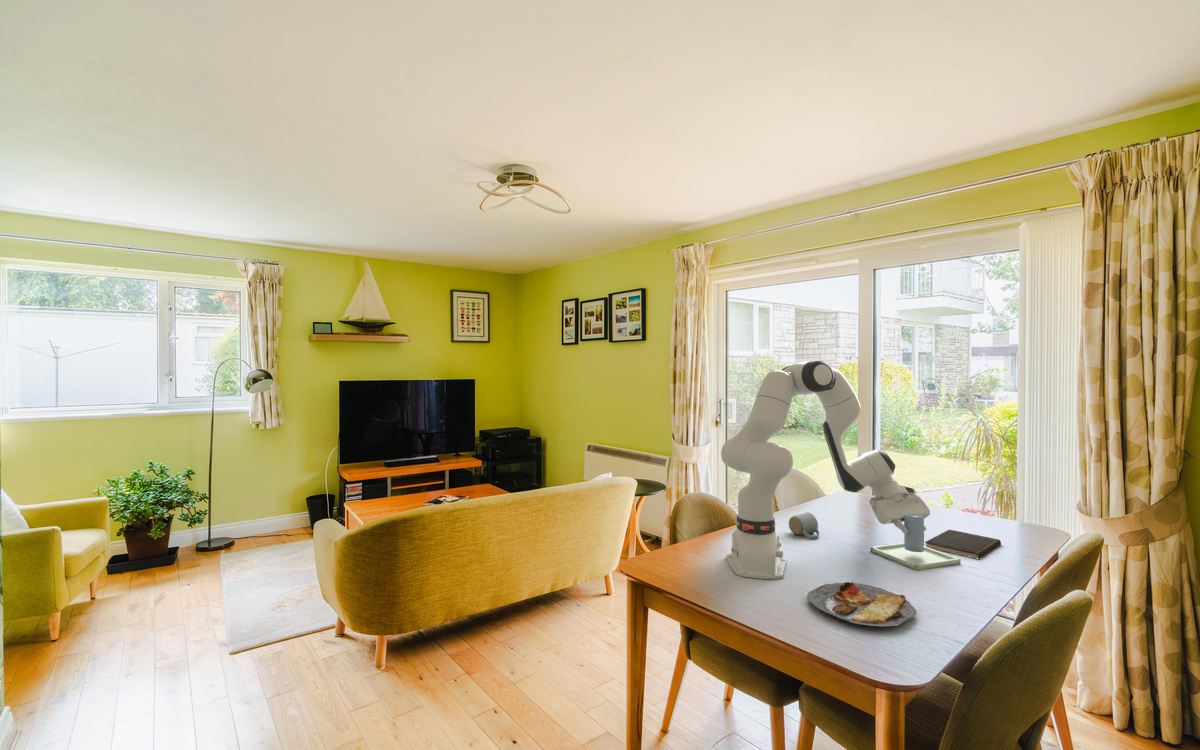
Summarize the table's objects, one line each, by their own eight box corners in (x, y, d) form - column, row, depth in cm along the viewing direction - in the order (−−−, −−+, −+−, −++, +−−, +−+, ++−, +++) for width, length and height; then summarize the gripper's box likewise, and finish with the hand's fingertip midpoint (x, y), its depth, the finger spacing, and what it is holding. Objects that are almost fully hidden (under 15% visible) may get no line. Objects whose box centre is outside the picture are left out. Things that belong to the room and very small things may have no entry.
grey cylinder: (926, 552, 170) (926, 518, 170) (907, 551, 171) (907, 517, 171) (920, 547, 175) (920, 514, 175) (901, 545, 177) (901, 513, 177)
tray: (870, 551, 179) (870, 546, 179) (911, 545, 185) (911, 541, 184) (916, 570, 162) (916, 565, 162) (960, 563, 167) (960, 559, 167)
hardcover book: (924, 548, 184) (924, 541, 184) (949, 535, 198) (949, 529, 198) (979, 561, 171) (979, 554, 171) (1001, 546, 185) (1001, 539, 185)
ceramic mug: (786, 532, 200) (787, 512, 200) (802, 529, 204) (803, 510, 204) (808, 541, 191) (809, 520, 191) (825, 538, 194) (825, 517, 194)
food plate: (842, 582, 153) (842, 570, 153) (930, 612, 134) (930, 598, 134) (792, 607, 138) (792, 594, 138) (883, 645, 119) (883, 630, 119)
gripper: (872, 493, 176) (897, 530, 167) (917, 488, 183) (944, 523, 174) (861, 503, 180) (885, 540, 171) (906, 497, 187) (932, 533, 178)
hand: (915, 531), depth 173 cm, fingers closed on grey cylinder, 6 cm apart
